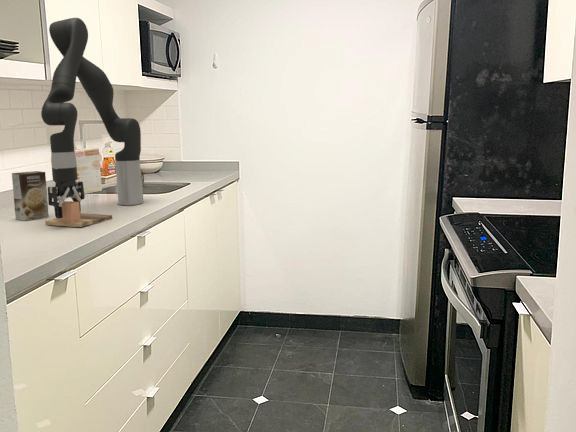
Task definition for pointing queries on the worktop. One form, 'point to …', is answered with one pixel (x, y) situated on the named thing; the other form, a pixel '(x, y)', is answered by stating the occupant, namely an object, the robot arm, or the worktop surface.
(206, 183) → the worktop surface
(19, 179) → the coffee box
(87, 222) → the stub
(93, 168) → the coffeecake box
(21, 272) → the worktop surface
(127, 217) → the worktop surface
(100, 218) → the brown notebook
